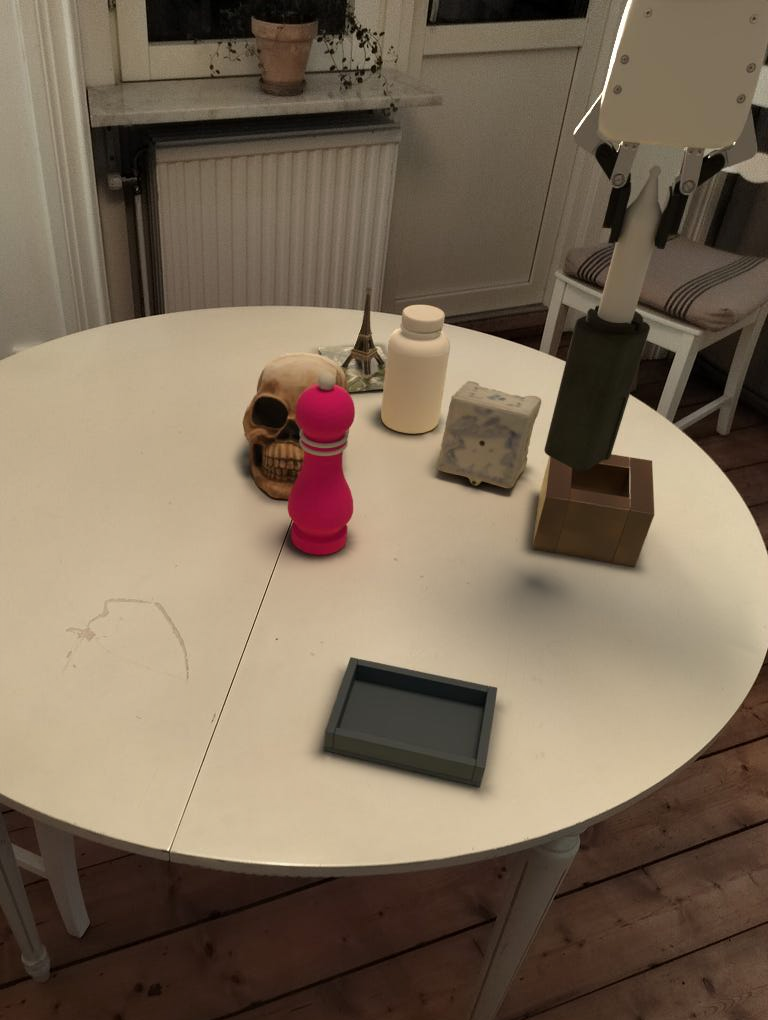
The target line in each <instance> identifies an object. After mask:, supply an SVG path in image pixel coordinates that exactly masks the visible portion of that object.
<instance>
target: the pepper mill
mask: <svg viewBox="0 0 768 1020" xmlns="http://www.w3.org/2000/svg"><path fill="white" fill-rule="evenodd" d="M335 382H336V380H335V377H334V375H333V374H332V373H330V372H323V373H322V374H320V375H319V377H318V384H316V385H312V386H311V387H309V388H307V389H306V390H305V391H303V393H302V394H301V395H300V396H299V399H298V401H297V404H296V410H295V414H296V420H297V422H298V424H299V426H300V427H301V428H302V429H301V430H300V441H299V442H300V446H301V447H302V449H303V450H304V459H303V465H302V469H301V471H300V473H299V476H298V478H297V479H296V481H295V483H294V485H293V487H292V490H291V492H290V495H289V499H287V500H288V501H287V513H288V515H289V518H290V519H291V521H292V523H291V542H292V544H293V545H294V547H296V548H297V549H298V550H299V551H302V552H303V553H306V554H308V555H314V556H315V555H316V556H325V555H326V556H327V555H331V554H334V553H336V552H339V551H340V550H341V549H342V548H344V546H345V545H346V543H347V539H348V525H347V524H348V523H349V522H350V520H351V519H352V517H353V514H354V499H353V494H352V491H351V488H350V486H349V484H348V482H347V479H346V476H345V474H344V469H343V453H344V451H345V450H346V449H347V448H348V444H349V441H348V440H349V439H348V438H349V434H348V432H347V430H348V429H349V430H350V428H351V427H352V425H353V423H354V421H355V417H356V408H355V402H354V400H353V397H352V395H351V394H350V392H349V393H348V392H347V391H346V390H345V389H343V388H342V387H340V386H338V385H335Z"/></svg>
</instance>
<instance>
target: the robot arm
mask: <svg viewBox="0 0 768 1020" xmlns="http://www.w3.org/2000/svg"><path fill="white" fill-rule="evenodd" d="M767 49H768V0H627V2H626V5H625V8H624V12H623V13H622V18H621V21H620V25H619V28H618V31H617V34H616V38H615V42H614V45H613V50H612V54H611V57H610V62H609V64H608V68H607V72H606V77H605V80H604V82H603V83H604V84H603V88H602V92H601V93H600V94H599V96H598V97H597V98H596V100H595V102H594V103H593V105H592V106H591V107H590V109H589V110H588V112H586V114H585V116H584V117H583V118H582V120H581V121H580V122H579V124H578V125H577V126H576V128H575V130H574V132H573V135H572V140H573V142H574V144H575V145H576V146H578V147H580V148H581V149H582V150H583V151H585V153H587V154H589V155H590V156H592V157H593V158H595V160H596V162H597V163H598V164H599V166H600V168H601V169H602V171H603V173H604V174H605V176H606V177H607V179H608V181H609V183H610V186H611V187H610V191H609V195H608V198H607V199H608V200H607V204H606V206H605V207H606V208H605V211H604V216H603V220H602V225H601V228H602V229H609V232H608V238H607V240H608V241H607V244H610V245H616V242H618V239H619V235H620V231H621V228H622V224H623V220H624V216H625V212H626V209H627V208H628V206H629V205H628V204H629V201H630V197H631V194H632V193H631V192H632V182H631V181H632V173H631V169H632V168H633V164H634V161H635V158H636V155H637V153H638V150H639V147H640V145H641V144H644V145H645V144H647V145H655V146H668V147H678V148H679V147H681V148H683V153H682V159H681V164H680V169H679V174H678V175H677V176H675V178H674V179H673V180H674V181H673V182H672V183H671V185H669V186H668V187H667V191H666V195H665V197H664V198H665V199H664V202H663V206H662V208H661V211H662V220H661V223H660V227H659V230H658V233H657V237H656V240H655V245H654V248H656V249H658V250H665V248H666V245H667V242H668V238H669V236H675V237H676V236H678V233H679V229H680V227H681V225H682V224H681V223H682V220H683V217H684V215H685V211H686V206H687V204H688V201H689V197H690V195H692V194H693V193H694V192H695V191H696V190H697V188H698V187H700V186H702V185H703V184H704V183H706V182H707V181H709V180H710V179H712V178H713V177H714V176H716V175H717V174H718V173H720V172H721V171H722V170H724V169H727V168H731V167H734V166H735V165H738V164H741V163H743V162H747V161H748V160H751V159H753V158H754V157H755V156H756V155H757V153H758V143H757V138H756V131H755V130H756V129H755V124H754V118H753V112H752V104H753V101H754V97H755V94H756V91H757V86H758V82H759V79H760V75H761V72H762V68H763V65H764V60H765V57H766V52H767ZM598 130H599V131H598ZM600 133H601V134H600ZM605 137H606V138H608V139H609V140H608V139H606V138H605ZM610 140H613V141H618V142H620V143H619V146H618V149H617V150H616V147H615V146H614V145H613V143H612V142H611V141H610ZM706 149H707V150H708V149H709V150H710V149H711V150H712V151H710V152H709V153H707V154H706V155H705V152H706Z"/></svg>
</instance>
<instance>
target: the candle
mask: <svg viewBox="0 0 768 1020" xmlns="http://www.w3.org/2000/svg"><path fill="white" fill-rule="evenodd" d="M648 173H649V174H648V175H649V176H648V178H647V179H646V181H645V183H644V185H643V186H642V188H641V189H640V192H639V193H638V195H637V196H636V198H635V199H634V200H633V201H632V202H631V204H629V205H628V206H627V209H626V212H625V216H624V220H623V224H622V228H621V231H620V235H619V239H618V242H615V244H614V248H613V253H612V256H611V260H610V264H609V268H608V272H607V276H606V280H605V283H604V287H603V290H602V296H601V298H600V302H599V305H595V307H594V308H589V309H588V311H587V313H586V314H585V315H584V316H581V317H578V318H577V319H576V321H575V322H574V327H573V331H572V335H571V340H570V344H569V348H568V352H567V356H566V360H565V365H564V368H563V371H562V372H563V373H562V376H561V381H560V384H559V387H558V393H557V396H556V401H555V405H554V408H553V412H552V417H551V421H550V425H549V429H548V433H547V437H546V441H545V444H544V445H545V446H544V453H545V454H546V455H547V456H548V457H549V456H550V457H552V458H554V459H556V460H558V461H560V462H562V463H564V464H565V465H567V466H569V467H571V468H573V469H576V470H581V471H586V470H590V469H591V467H592V466H594V465H596V464H598V463H599V462H601V461H603V460H608V459H609V458H610V456H611V454H612V453H613V449H614V447H615V444H616V440H617V437H618V434H619V430H620V427H621V424H622V421H623V417H624V414H625V411H626V408H627V404H628V401H629V398H630V394H631V392H632V388H633V385H634V382H635V378H636V374H637V372H638V369H639V367H640V366H639V365H640V362H641V359H642V355H643V352H644V349H645V346H646V343H647V339H648V336H649V333H650V329H651V326H650V324H649V323H648V322H646V321H645V320H644V317H643V316H642V314H641V313H640V312H638V311H636V310H637V306H638V303H639V299H640V296H641V293H642V289H643V285H644V282H645V278H646V276H647V271H648V269H649V265H650V261H651V257H652V255H653V251H654V249H655V240H656V237H657V233H658V230H659V227H660V223H661V220H662V208H661V204H660V201H659V177H660V175H661V173H662V168H661V166H660V165H658V164H657V165H653V166H652V167H650V168H649V170H648Z"/></svg>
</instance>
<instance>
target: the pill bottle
mask: <svg viewBox="0 0 768 1020" xmlns="http://www.w3.org/2000/svg"><path fill="white" fill-rule="evenodd" d="M445 319H446V314H445V312H444V311H443V310H442V309H440V307H436V306H433V305H428V304H412V305H408V306H407V307H405V308H403V310H402V314H401V322H400V324H399V326H400V327H398V328H396V329H395V330H394V331H393V332H391V334H390V336H389V339H388V341H387V349H386V350H387V351H386V358H387V359H386V369H385V379H384V389H382V390H383V392H382V399H381V400H382V401H381V411H380V412H381V413H380V417H381V421H382V423H383V424H384V425H385V426H386V427H388V428H389V429H390V430H393V431H396V432H398V433H403V434H423V433H427V432H430V431H432V430H434V429H435V428H436V427H437V426H438V424H439V421H440V416H441V410H442V403H443V397H444V390H445V384H446V377H447V371H448V364H449V357H450V351H451V344H450V338H449V337H448V335H447V334H446V333H445V332H444V331H443V328H444V325H445Z"/></svg>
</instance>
